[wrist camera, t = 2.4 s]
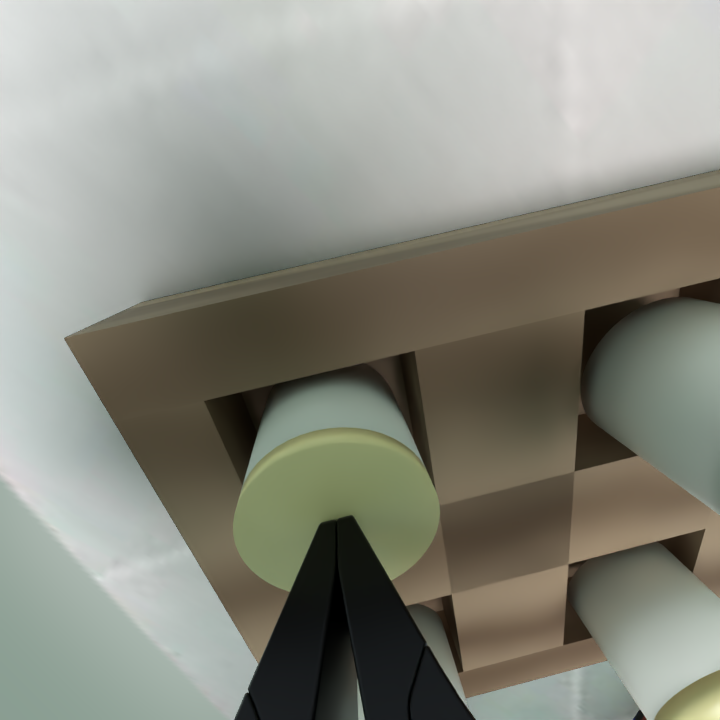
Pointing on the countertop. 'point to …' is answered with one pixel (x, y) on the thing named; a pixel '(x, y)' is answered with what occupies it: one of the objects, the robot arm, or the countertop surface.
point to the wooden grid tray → (437, 408)
